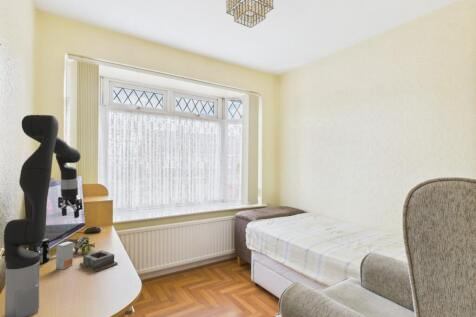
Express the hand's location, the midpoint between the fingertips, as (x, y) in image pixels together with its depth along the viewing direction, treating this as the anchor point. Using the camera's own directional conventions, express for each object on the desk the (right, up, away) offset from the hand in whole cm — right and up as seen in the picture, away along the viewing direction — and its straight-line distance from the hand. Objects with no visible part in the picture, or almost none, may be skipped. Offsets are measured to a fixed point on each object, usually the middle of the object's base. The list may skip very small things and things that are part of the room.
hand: (70, 216), depth 133 cm
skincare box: (+1, -25, -6) cm, 25 cm away
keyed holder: (+17, -24, -3) cm, 30 cm away
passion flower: (-2, -25, +15) cm, 29 cm away
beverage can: (-15, -25, 0) cm, 29 cm away
